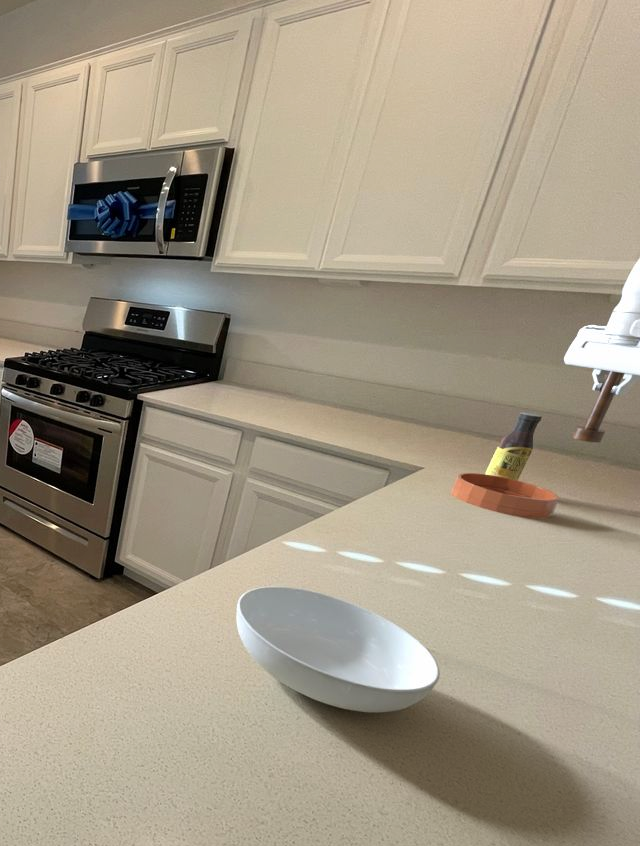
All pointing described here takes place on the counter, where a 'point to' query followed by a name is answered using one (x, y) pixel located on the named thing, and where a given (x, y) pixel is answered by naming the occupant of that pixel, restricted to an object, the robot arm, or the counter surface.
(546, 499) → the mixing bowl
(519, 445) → the sauce bottle
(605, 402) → the brown rod with base
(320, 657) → the serving bowl
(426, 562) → the counter surface
